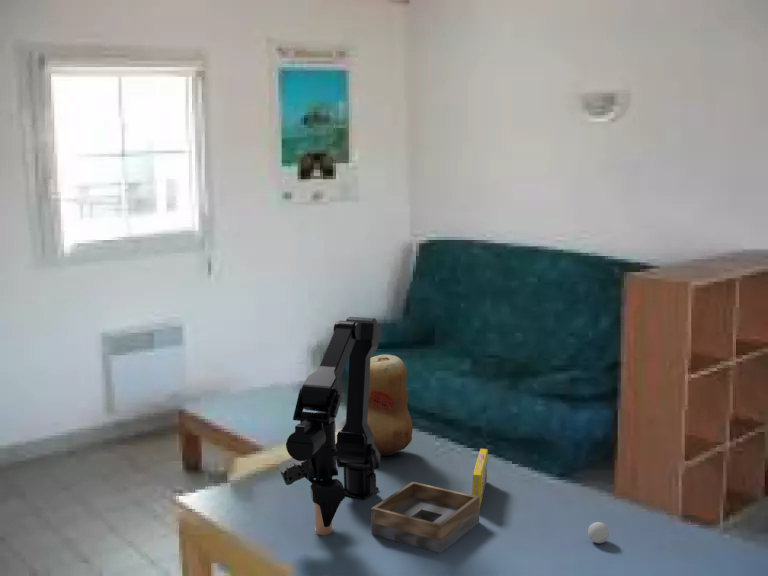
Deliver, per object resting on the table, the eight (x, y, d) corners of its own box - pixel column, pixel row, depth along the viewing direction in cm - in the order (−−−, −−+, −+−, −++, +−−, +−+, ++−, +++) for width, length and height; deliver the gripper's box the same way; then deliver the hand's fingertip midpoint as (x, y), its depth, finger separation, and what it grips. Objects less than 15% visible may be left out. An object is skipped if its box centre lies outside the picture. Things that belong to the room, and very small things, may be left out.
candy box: (481, 512, 193) (481, 475, 191) (471, 511, 193) (471, 474, 192) (488, 482, 208) (488, 448, 207) (478, 482, 209) (478, 447, 207)
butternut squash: (352, 462, 222) (350, 363, 217) (363, 443, 235) (360, 349, 230) (409, 465, 219) (407, 364, 215) (416, 445, 232) (415, 350, 228)
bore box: (371, 533, 183) (371, 508, 182) (412, 505, 196) (412, 481, 195) (440, 553, 175) (440, 526, 174) (479, 522, 188) (479, 497, 187)
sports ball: (604, 548, 175) (605, 529, 175) (584, 543, 177) (585, 524, 177) (611, 540, 179) (612, 521, 178) (591, 536, 181) (592, 517, 180)
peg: (311, 532, 184) (310, 495, 183) (322, 526, 187) (320, 489, 186) (325, 536, 182) (324, 498, 181) (335, 530, 185) (334, 493, 184)
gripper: (276, 431, 189) (279, 502, 192) (285, 463, 171) (288, 541, 174) (329, 427, 191) (331, 497, 194) (344, 458, 173) (346, 535, 176)
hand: (323, 516), depth 184 cm, fingers open, 9 cm apart
